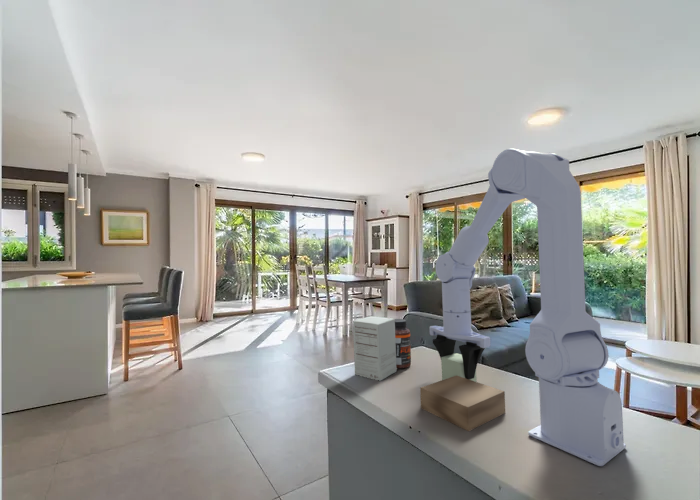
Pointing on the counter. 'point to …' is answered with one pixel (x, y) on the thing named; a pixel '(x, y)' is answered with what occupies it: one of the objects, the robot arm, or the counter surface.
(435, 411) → the walnut block
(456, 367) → the sage cube
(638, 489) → the counter surface
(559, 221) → the robot arm
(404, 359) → the supplement bottle
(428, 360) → the counter surface
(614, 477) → the counter surface
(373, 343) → the supplement box
